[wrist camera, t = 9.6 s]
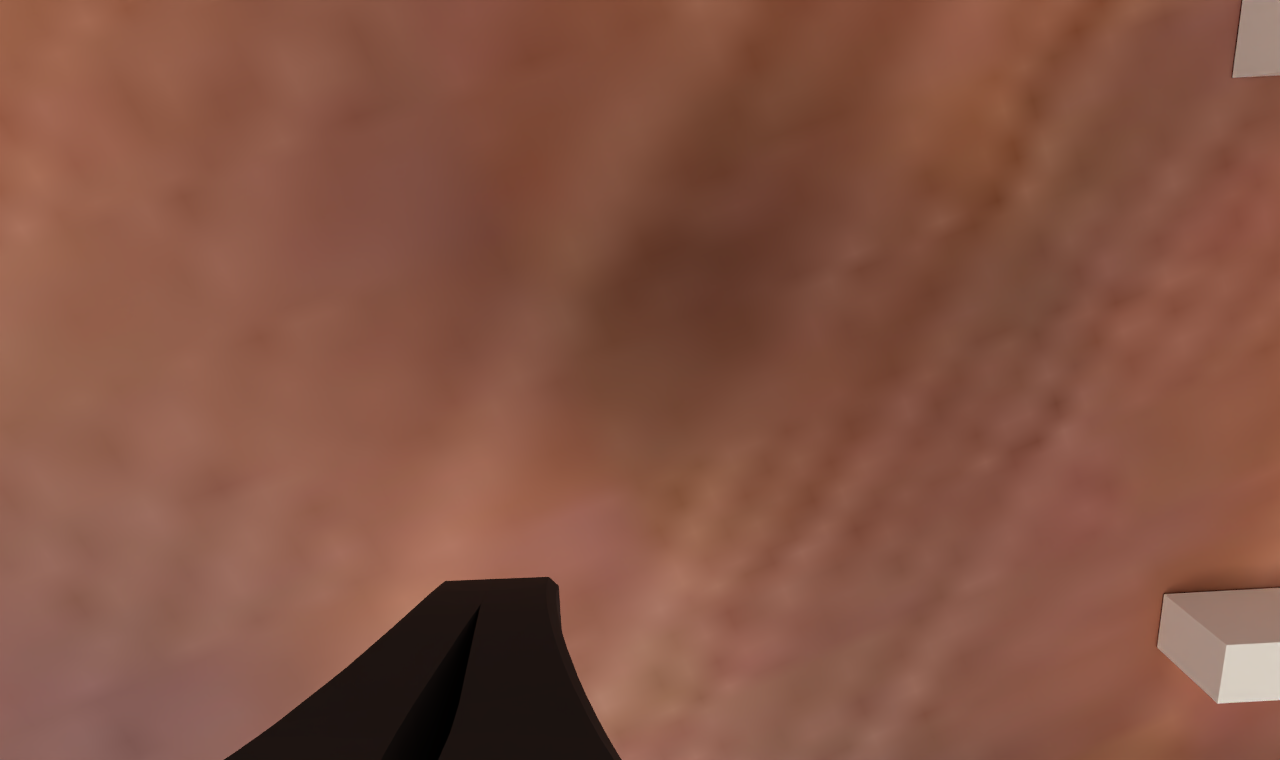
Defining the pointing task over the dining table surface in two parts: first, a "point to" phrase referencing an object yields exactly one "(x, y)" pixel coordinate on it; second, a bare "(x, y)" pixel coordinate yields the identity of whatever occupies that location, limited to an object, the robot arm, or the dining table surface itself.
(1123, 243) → the dining table surface
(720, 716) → the dining table surface
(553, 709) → the robot arm
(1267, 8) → the u-shaped frame
